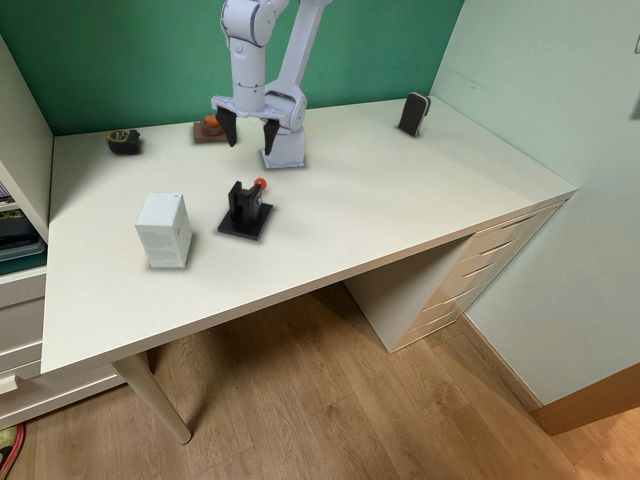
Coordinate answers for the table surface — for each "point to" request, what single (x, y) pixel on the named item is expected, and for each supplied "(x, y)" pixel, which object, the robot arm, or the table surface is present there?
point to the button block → (208, 133)
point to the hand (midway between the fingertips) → (250, 148)
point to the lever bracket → (245, 215)
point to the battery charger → (414, 112)
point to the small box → (164, 229)
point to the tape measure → (123, 141)
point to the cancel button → (211, 121)
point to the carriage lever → (250, 192)
